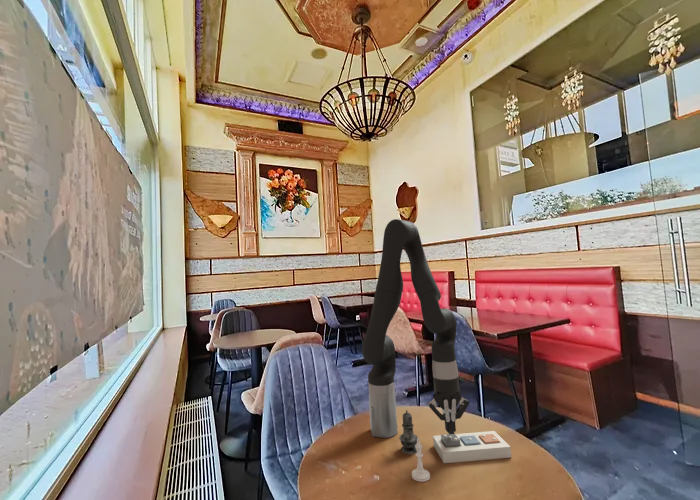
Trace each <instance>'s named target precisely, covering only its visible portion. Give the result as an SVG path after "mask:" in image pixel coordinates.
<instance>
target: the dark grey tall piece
mask: <svg viewBox="0 0 700 500" xmlns="http://www.w3.org/2000/svg"><path fill="white" fill-rule="evenodd" d="M401 427H402V429H403V430H402V432H403V434H401V435H400V436H399V441H400V444H401V445H402V446H401V448H400V450H401V452H402V453H403V454H406V455H413V454H416V453H417V450H416V448H415V445H416V444H418V443H417V438H419V437H418V436H417V435H416V434H414V424H413V416H412V414H411V413H410V412H409V411H408V410H405V412H404V413H403V414H402V424H401Z"/></svg>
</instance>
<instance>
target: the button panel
mask: <svg viewBox="0 0 700 500" xmlns="http://www.w3.org/2000/svg"><path fill="white" fill-rule="evenodd" d="M454 434H455V435H456V436H457V437H458V439H459V440H460V437H461V436H473V435H474V436H475V437H476V438H477V439H478V441H479V442H480V445H470V446H465V445H464V444H463V442H462V441H461V440H460V446H458V447H447V448H445V446H444V445H443V443H442V442H441V435H442V434H440V435H433V436H432V441H433V448H434V449H435V451H436V453H437V454H438V456H439V458H440V459H441V461H442V463H443V464H450V463H462V462H463V463H464V462H472V461H473V462H475V461H484V460H496V459H497V460H498V459H507V458H508V459H509V458H512V450H511V445H510V444H509V443H508V442H506V441H505V440H504V439H503V438H502V436H500V435H499V434H498V433H497V432H496V431H495V430H489V431H478V432H466V433H454ZM485 434H493V435H494V436H495V437H496V438H497V439H498V440H499V441H500V443H494V444H484V443H483V442H482V440H481V439H480V438H479V435H485Z"/></svg>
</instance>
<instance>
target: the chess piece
mask: <svg viewBox="0 0 700 500" xmlns="http://www.w3.org/2000/svg"><path fill="white" fill-rule="evenodd" d="M415 448H416V450H417V453H414V454H415V456H416V457H417V467H416V468H415V469H413V470H412V472H411V479H413V480H414V481H416V482H428V481H429V480H430V479H431V473H430V471H429V470H427V469H424V465H423V460H422V457H424V453H423V452H422V451H423V444H421V439H420V437H418V438H417V444H416V445H415Z"/></svg>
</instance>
